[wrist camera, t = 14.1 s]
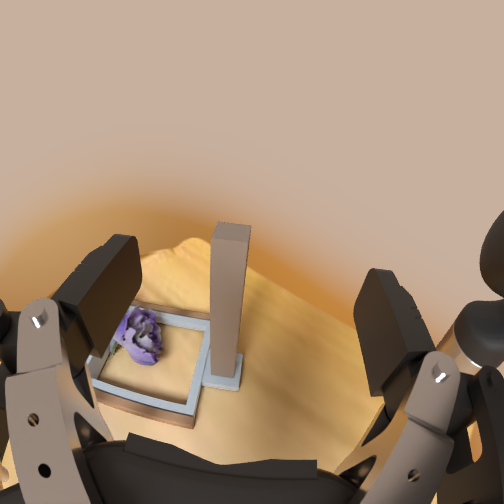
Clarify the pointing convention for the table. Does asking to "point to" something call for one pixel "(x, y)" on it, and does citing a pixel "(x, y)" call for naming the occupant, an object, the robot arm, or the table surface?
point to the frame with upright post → (205, 325)
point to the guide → (143, 409)
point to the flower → (139, 336)
